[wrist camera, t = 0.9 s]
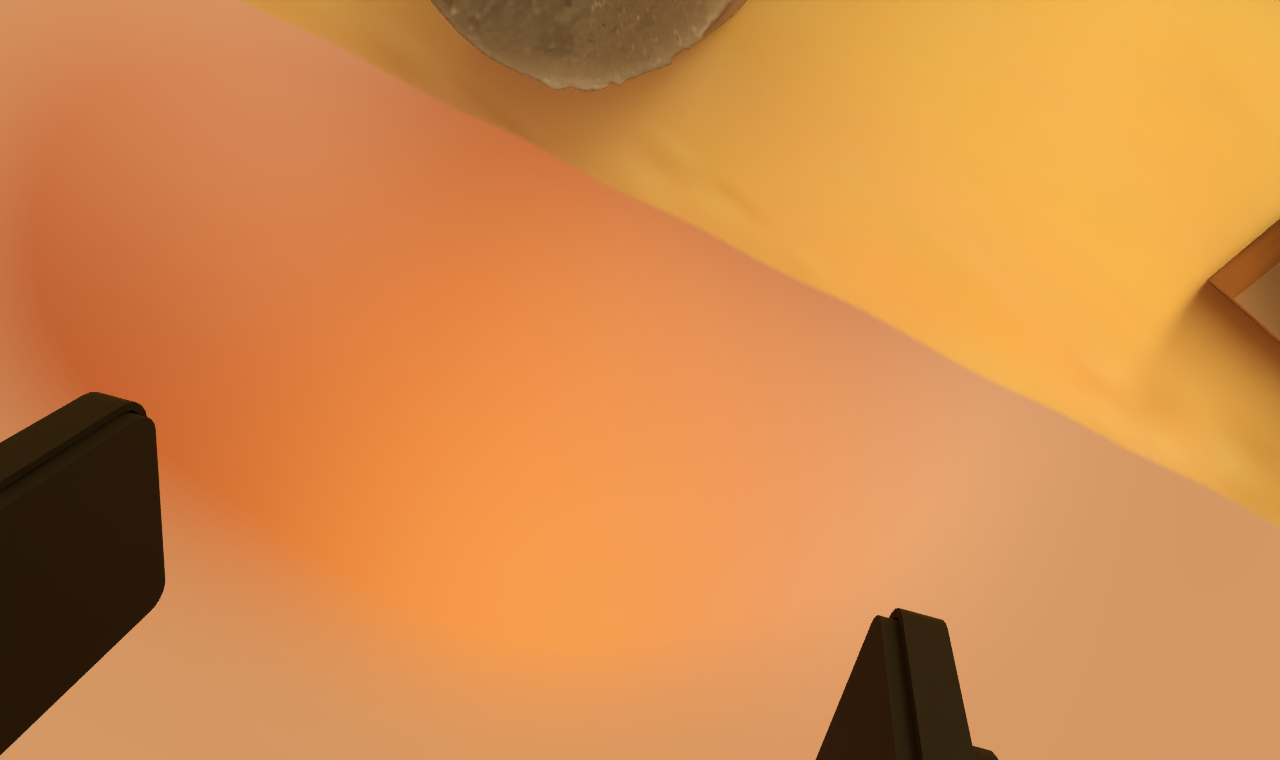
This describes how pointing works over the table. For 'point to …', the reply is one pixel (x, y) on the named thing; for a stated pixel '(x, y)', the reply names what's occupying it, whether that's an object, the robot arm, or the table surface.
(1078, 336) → the table surface
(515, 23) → the pillar candle
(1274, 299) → the brown wooden square frame
